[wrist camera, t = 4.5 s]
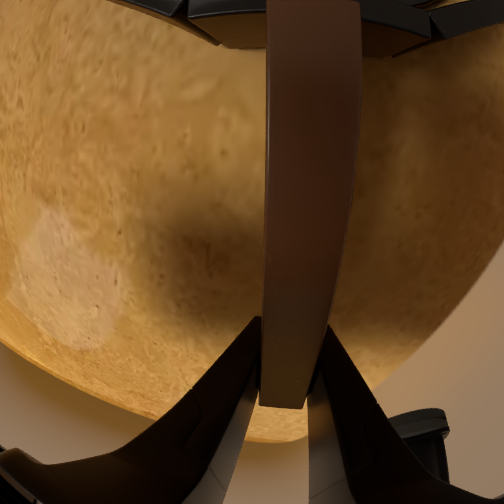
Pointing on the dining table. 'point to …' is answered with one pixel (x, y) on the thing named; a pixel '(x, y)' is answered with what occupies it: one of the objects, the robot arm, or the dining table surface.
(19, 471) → the robot arm
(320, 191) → the frying pan
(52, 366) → the dining table surface
